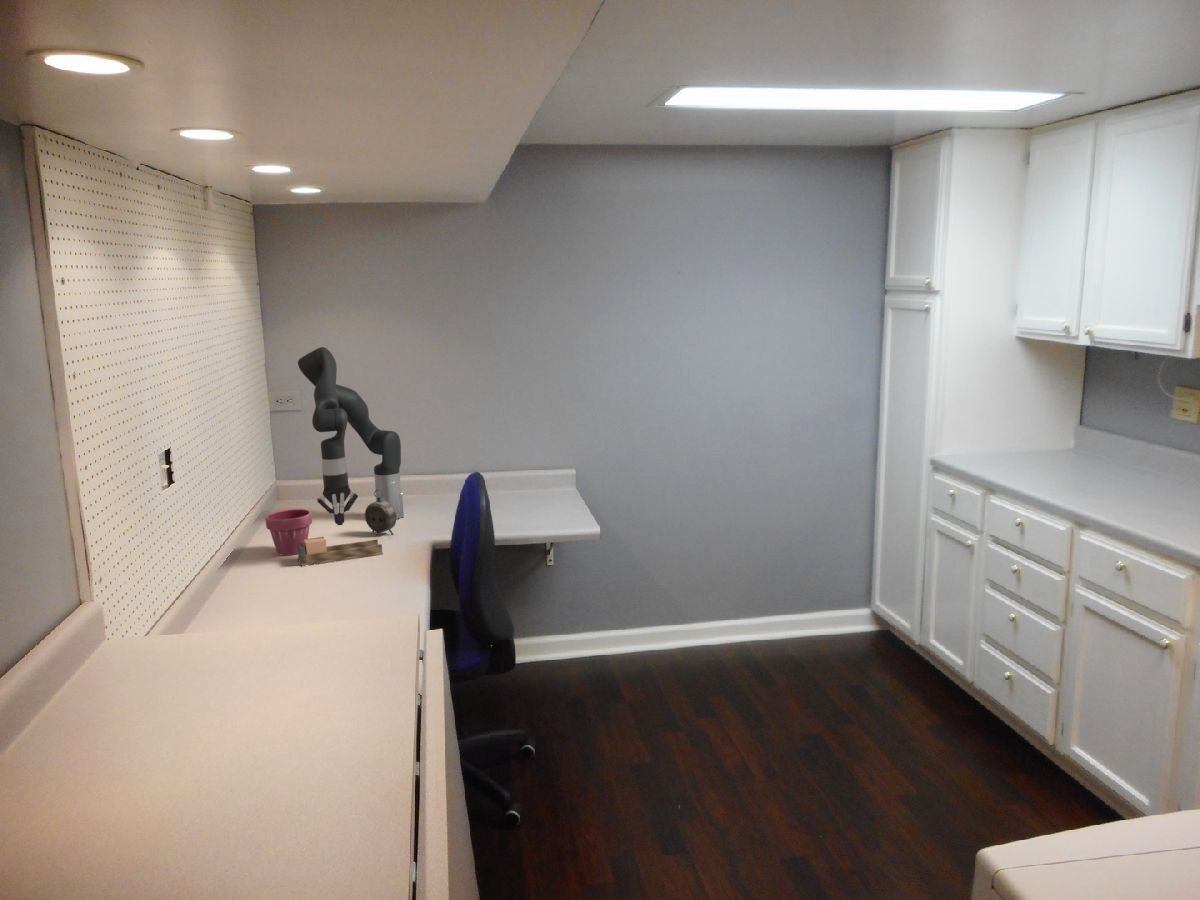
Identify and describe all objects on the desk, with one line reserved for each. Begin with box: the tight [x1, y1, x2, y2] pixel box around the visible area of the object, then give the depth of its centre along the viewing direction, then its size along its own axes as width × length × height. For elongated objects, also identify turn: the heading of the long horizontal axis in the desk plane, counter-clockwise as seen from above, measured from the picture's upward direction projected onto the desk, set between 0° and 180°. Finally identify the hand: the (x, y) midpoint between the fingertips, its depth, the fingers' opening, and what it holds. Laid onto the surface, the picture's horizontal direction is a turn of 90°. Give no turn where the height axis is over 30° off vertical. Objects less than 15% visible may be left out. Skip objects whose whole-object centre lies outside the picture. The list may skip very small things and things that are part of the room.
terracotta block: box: [304, 536, 327, 555], centre depth 272 cm, size 6×5×6 cm
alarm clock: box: [364, 489, 397, 537], centre depth 299 cm, size 11×5×16 cm, turn 65°
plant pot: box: [265, 508, 313, 556], centre depth 281 cm, size 14×14×13 cm
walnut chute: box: [297, 539, 384, 567], centre depth 275 cm, size 25×9×6 cm, turn 116°
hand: (339, 524), depth 274 cm, fingers closed
